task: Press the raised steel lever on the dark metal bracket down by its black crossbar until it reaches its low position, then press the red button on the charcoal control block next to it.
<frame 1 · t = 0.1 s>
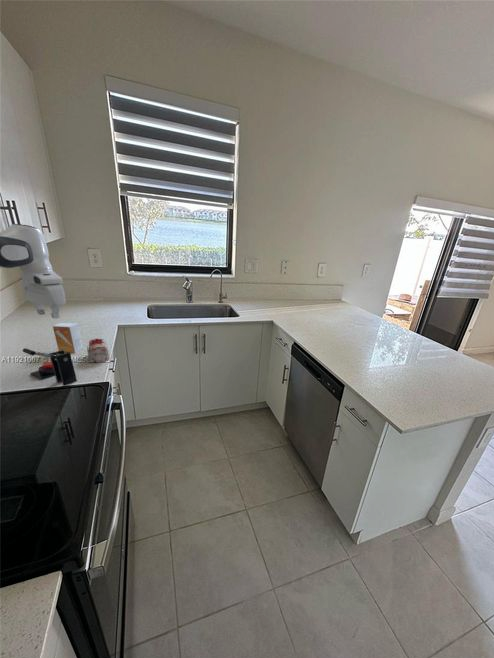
hand: (48, 316, 104), 25 cm above the worktop, tool pointing down, fingers open, 8 cm apart
button: (48, 365, 113), point 4 cm above the worktop, slide at 0.1 cm
food item: (99, 360, 131), on the worktop
control block: (51, 376, 114), on the worktop
bracket: (67, 385, 108), on the worktop
lever: (46, 355, 100), point 13 cm above the worktop, hinge at 30.0°
small box: (71, 351, 140), on the worktop
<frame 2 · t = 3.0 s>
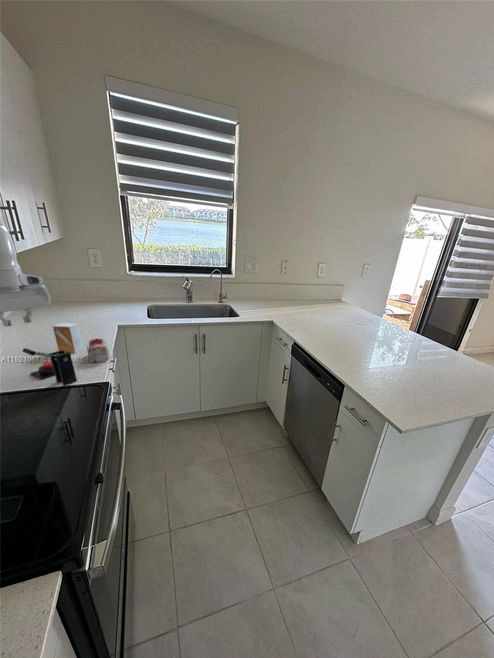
hand: (18, 324, 92), 25 cm above the worktop, tool pointing down, fingers open, 4 cm apart
nothing on the worktop moved.
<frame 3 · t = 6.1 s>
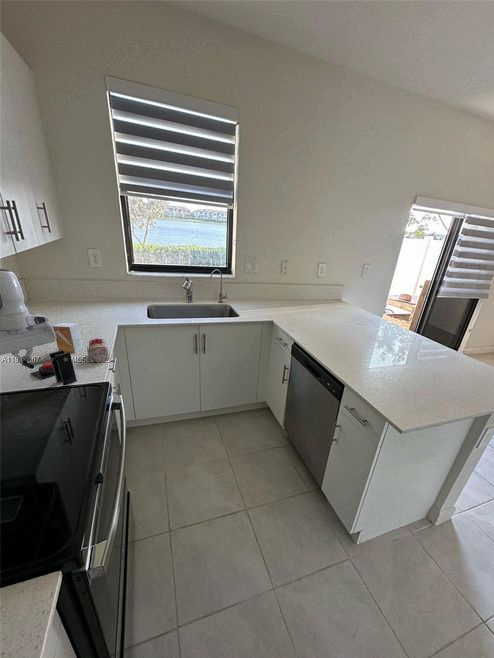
hand: (25, 361, 96), 12 cm above the worktop, tool pointing down, fingers closed
lever: (46, 361, 100), point 11 cm above the worktop, hinge at 4.2°, touching gripper
everything else where it was.
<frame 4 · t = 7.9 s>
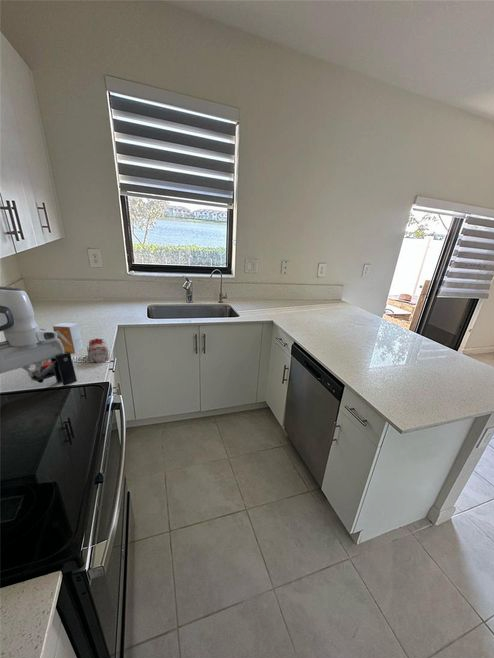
hand: (35, 375, 99), 7 cm above the worktop, tool pointing down, fingers closed
lever: (50, 367, 101), point 9 cm above the worktop, hinge at -29.8°, touching gripper
everything else where it was.
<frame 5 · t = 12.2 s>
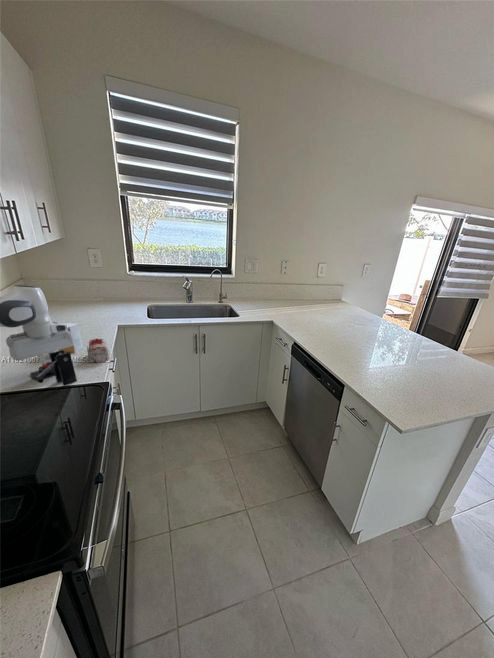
hand: (48, 363, 113), 5 cm above the worktop, tool pointing down, fingers closed, pressing on button
button: (48, 365, 113), point 4 cm above the worktop, slide at 0.1 cm, touching gripper
lever: (50, 367, 101), point 9 cm above the worktop, hinge at -29.8°
everything else where it was.
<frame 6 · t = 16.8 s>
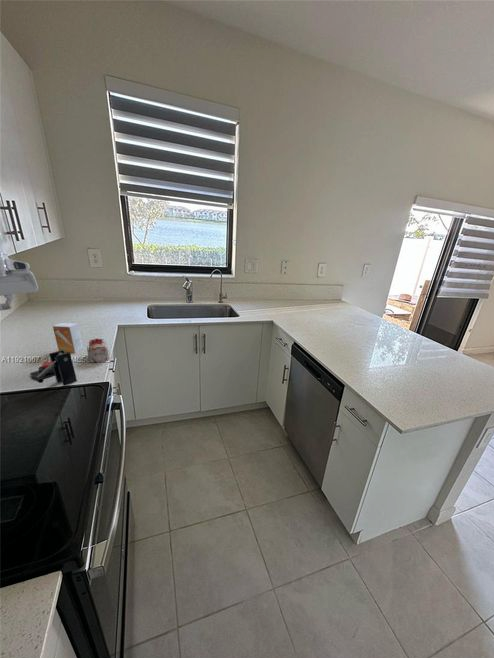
hand: (5, 309, 93), 29 cm above the worktop, tool pointing down, fingers closed
button: (48, 365, 113), point 4 cm above the worktop, slide at 0.1 cm
everything else where it was.
at the end: lever at -30° (first picture: +30°); button pushed in 1.0 cm at the most during the clip, back to where it started at the end; button slide at 0.1 cm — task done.
